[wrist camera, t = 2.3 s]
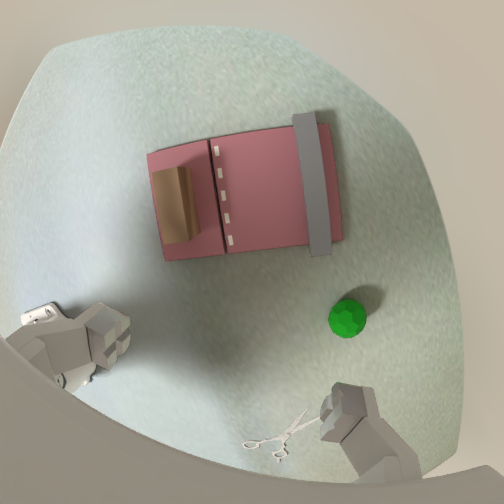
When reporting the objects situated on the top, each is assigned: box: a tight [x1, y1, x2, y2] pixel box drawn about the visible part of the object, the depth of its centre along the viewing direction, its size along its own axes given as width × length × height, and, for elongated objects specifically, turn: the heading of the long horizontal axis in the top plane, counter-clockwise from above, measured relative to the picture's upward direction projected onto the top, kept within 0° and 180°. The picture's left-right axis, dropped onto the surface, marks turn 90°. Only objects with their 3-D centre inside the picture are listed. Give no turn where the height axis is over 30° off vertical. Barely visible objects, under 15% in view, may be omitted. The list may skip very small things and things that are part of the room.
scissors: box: [242, 408, 320, 463], centre depth 43 cm, size 11×1×20 cm
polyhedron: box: [328, 299, 367, 338], centre depth 33 cm, size 5×5×5 cm
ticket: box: [210, 113, 343, 257], centre depth 30 cm, size 14×16×3 cm
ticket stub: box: [147, 140, 226, 261], centre depth 30 cm, size 8×14×6 cm, turn 8°
